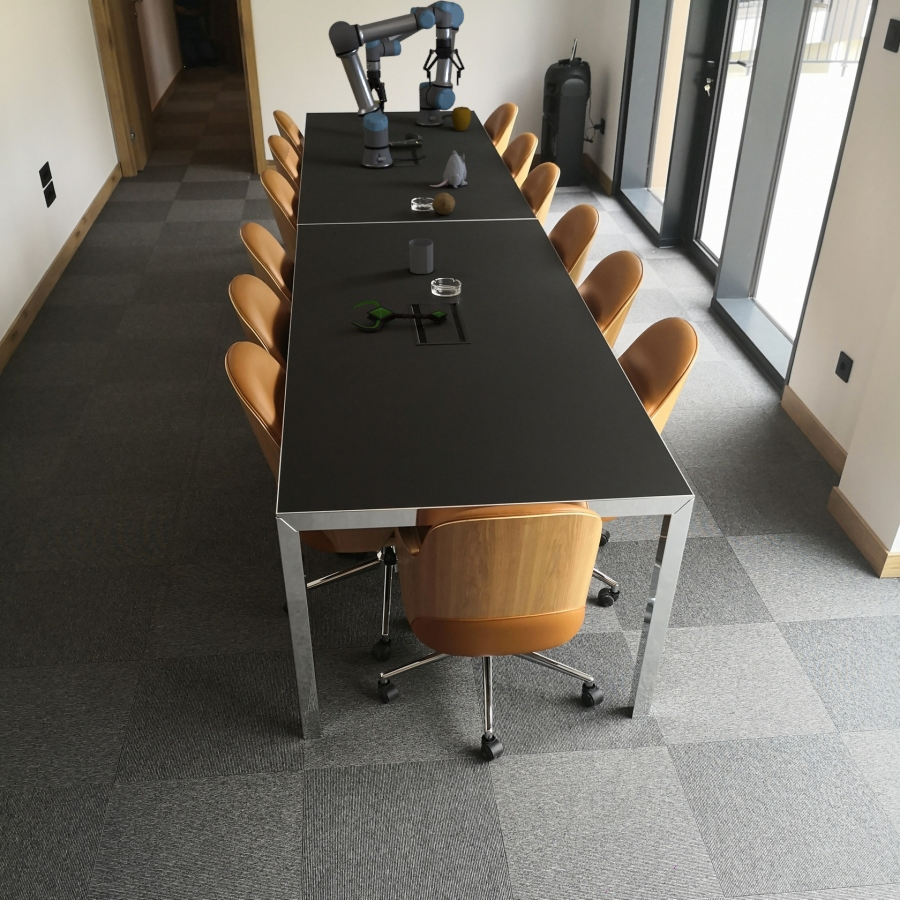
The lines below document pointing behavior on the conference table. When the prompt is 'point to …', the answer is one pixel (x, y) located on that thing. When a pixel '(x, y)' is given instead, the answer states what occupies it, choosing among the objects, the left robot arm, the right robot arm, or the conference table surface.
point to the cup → (421, 256)
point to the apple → (461, 118)
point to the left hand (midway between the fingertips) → (443, 85)
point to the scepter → (393, 315)
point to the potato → (443, 203)
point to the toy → (454, 171)
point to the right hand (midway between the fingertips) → (375, 114)
